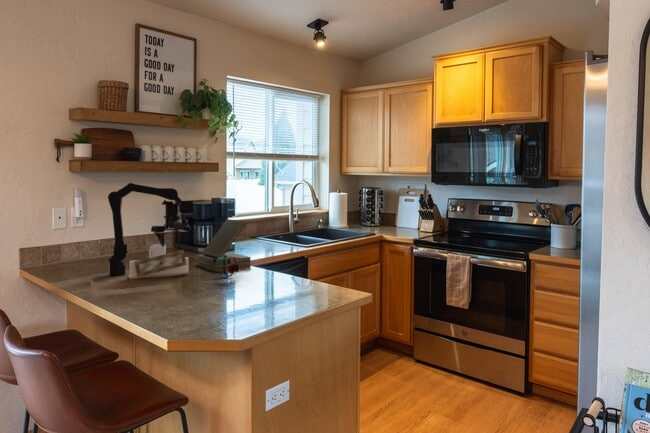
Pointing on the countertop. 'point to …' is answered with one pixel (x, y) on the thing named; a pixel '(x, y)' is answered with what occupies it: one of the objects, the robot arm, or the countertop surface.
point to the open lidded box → (223, 247)
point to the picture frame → (160, 263)
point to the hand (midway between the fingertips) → (171, 246)
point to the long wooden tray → (170, 272)
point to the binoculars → (226, 261)
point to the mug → (157, 250)
